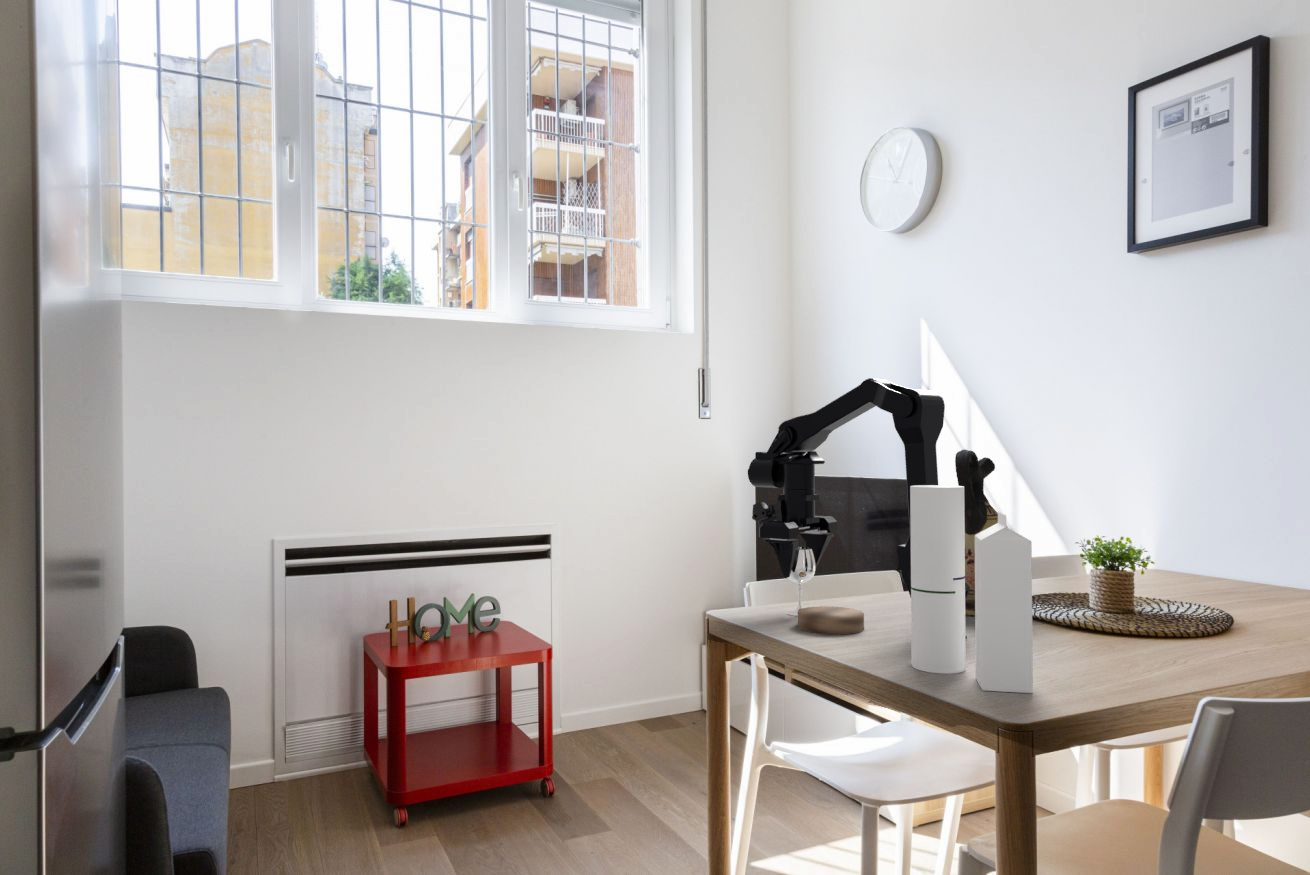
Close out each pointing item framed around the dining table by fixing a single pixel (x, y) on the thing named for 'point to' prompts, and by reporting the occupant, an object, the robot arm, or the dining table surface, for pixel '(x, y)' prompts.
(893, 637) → the dining table surface
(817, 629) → the walnut riser
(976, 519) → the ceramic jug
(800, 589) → the wineglass
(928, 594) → the cylindrical container
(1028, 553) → the milk
